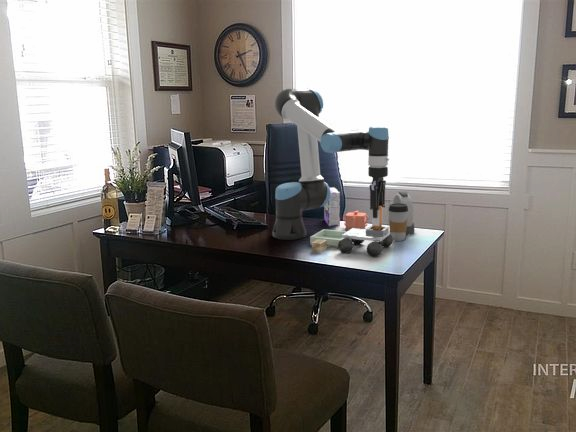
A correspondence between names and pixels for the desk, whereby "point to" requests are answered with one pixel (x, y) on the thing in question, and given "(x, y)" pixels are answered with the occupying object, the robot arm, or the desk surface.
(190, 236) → the desk surface
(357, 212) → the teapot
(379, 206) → the pin
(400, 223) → the coffee cup
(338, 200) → the candy box
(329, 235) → the tray
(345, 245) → the trolley
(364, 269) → the desk surface
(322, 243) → the chock
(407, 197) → the grey rounded piece
